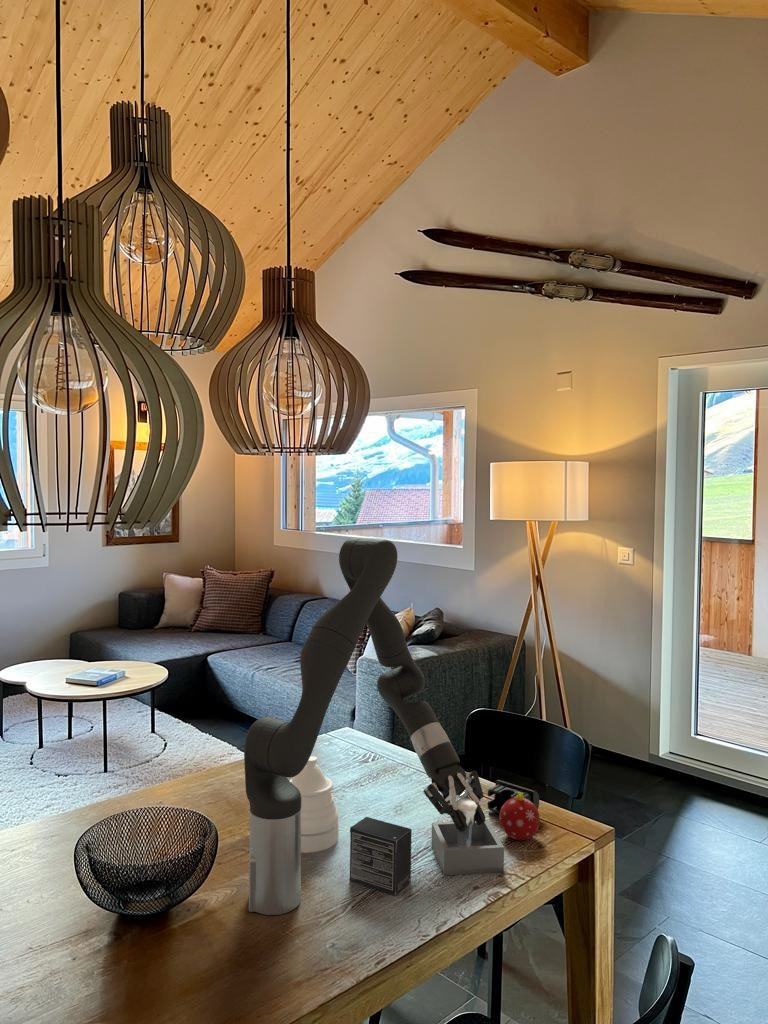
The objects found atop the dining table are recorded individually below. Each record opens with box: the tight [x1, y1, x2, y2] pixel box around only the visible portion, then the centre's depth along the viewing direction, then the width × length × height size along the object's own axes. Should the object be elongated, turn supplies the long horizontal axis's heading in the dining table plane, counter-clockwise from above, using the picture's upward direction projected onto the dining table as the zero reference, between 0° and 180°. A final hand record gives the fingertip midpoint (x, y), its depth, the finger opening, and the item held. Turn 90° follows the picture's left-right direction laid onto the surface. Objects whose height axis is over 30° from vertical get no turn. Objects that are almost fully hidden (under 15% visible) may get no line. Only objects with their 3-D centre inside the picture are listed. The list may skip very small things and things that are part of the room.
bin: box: [431, 819, 505, 876], centre depth 156 cm, size 12×12×5 cm
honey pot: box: [289, 755, 340, 854], centre depth 163 cm, size 13×13×18 cm
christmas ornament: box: [498, 792, 541, 841], centre depth 165 cm, size 9×9×10 cm
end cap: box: [487, 779, 540, 819], centre depth 176 cm, size 10×7×7 cm
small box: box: [348, 816, 412, 896], centre depth 147 cm, size 11×6×10 cm, turn 59°
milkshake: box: [456, 798, 482, 847], centre depth 156 cm, size 5×5×10 cm
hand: (473, 826), depth 154 cm, fingers closed on milkshake, 4 cm apart
